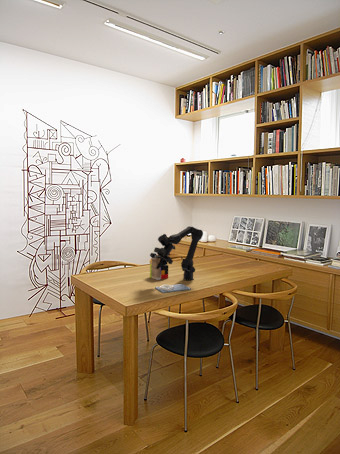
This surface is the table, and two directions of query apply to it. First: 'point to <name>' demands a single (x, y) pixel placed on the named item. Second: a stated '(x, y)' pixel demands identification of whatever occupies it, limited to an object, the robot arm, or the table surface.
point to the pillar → (155, 268)
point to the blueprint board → (176, 287)
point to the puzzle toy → (162, 272)
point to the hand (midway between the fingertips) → (154, 268)
